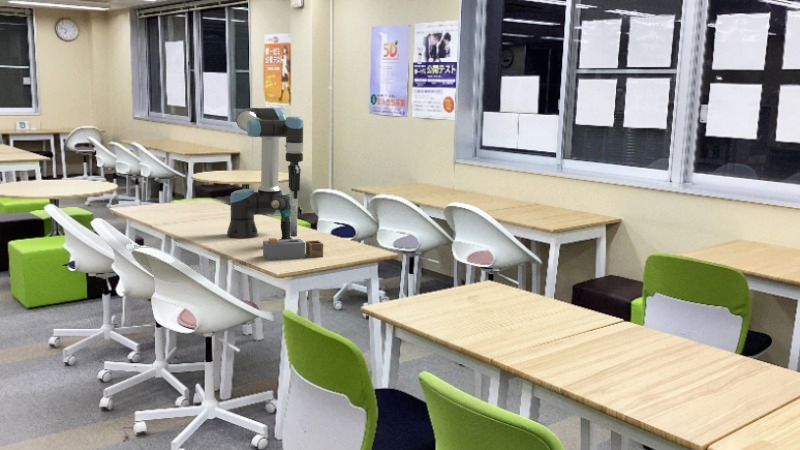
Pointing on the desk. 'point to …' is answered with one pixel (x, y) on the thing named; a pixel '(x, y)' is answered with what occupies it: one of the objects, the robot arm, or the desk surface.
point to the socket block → (284, 249)
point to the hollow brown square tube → (314, 248)
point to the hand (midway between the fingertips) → (293, 205)
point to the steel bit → (293, 219)
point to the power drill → (283, 213)
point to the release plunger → (272, 240)
